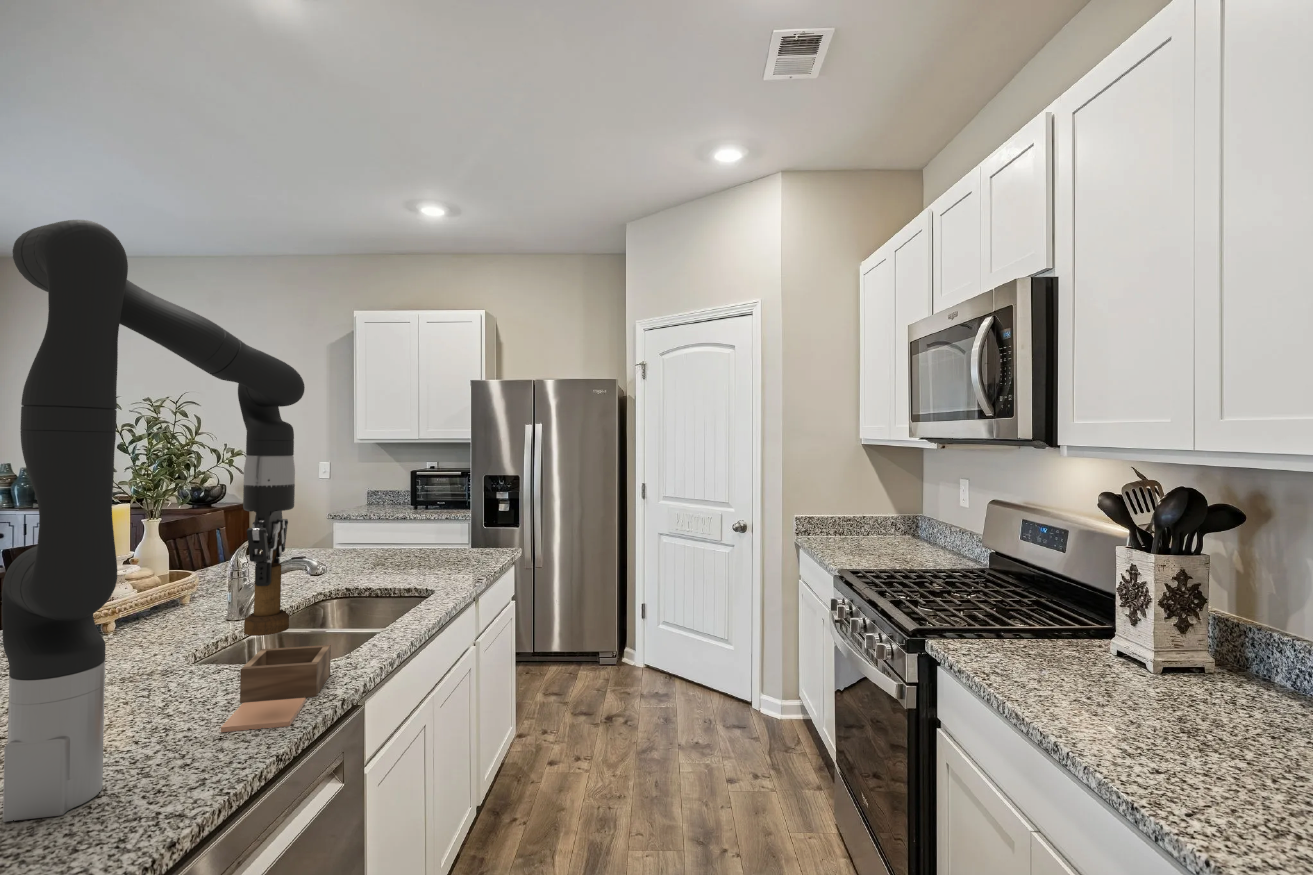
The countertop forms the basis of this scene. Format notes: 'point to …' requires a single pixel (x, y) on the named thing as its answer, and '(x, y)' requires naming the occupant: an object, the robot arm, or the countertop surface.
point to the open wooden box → (285, 673)
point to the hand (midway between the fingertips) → (267, 582)
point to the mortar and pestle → (268, 607)
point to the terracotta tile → (264, 714)
